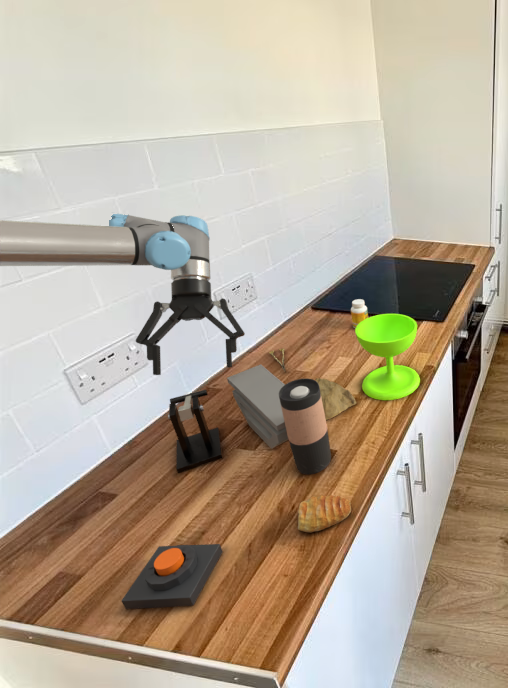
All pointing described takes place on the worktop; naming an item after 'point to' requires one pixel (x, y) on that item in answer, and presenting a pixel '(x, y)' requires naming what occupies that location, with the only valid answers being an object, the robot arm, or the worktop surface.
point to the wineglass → (388, 355)
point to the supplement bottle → (358, 312)
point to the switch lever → (187, 404)
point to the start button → (169, 562)
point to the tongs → (278, 360)
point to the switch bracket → (195, 440)
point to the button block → (174, 579)
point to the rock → (334, 398)
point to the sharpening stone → (260, 403)
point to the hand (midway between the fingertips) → (194, 370)
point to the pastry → (322, 512)
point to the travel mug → (306, 425)
